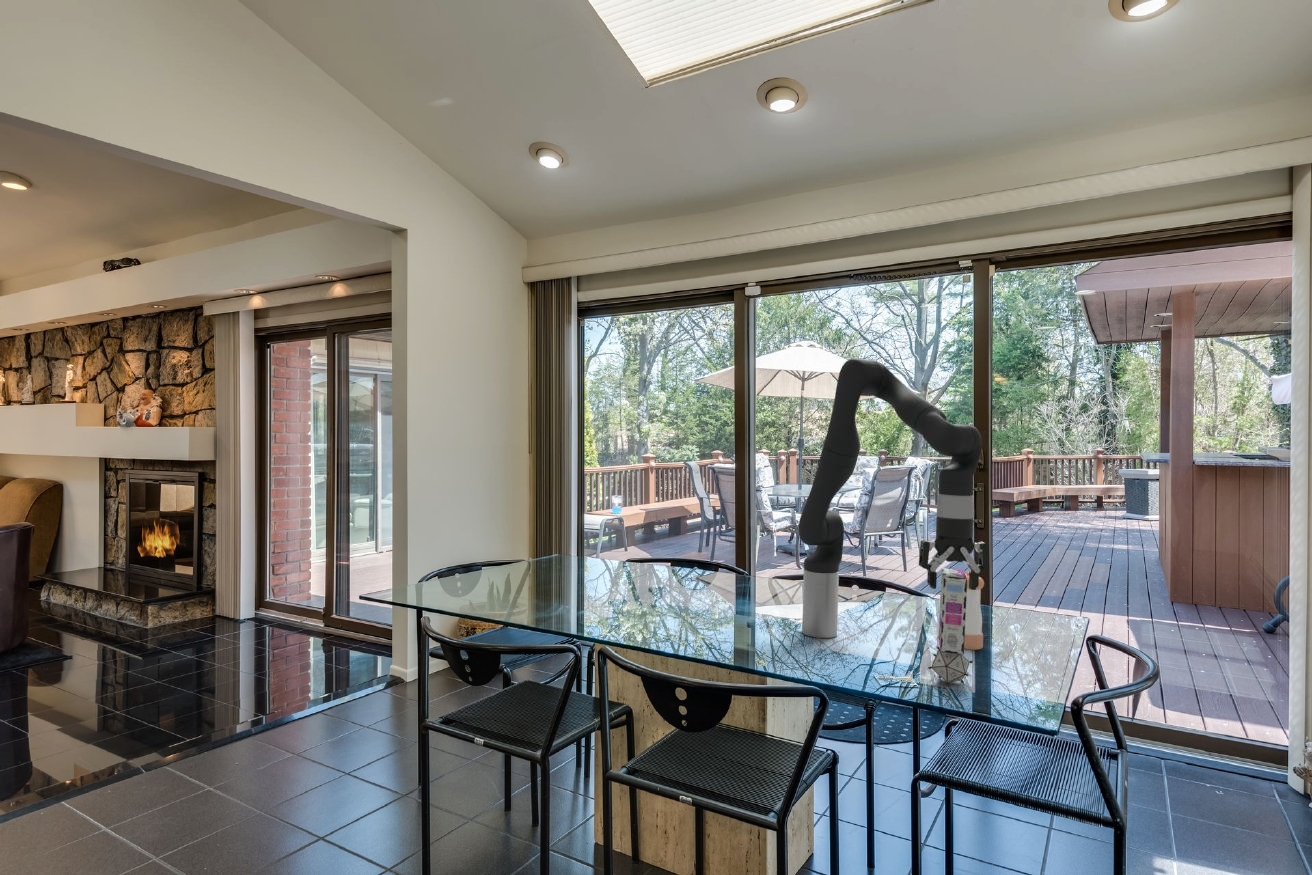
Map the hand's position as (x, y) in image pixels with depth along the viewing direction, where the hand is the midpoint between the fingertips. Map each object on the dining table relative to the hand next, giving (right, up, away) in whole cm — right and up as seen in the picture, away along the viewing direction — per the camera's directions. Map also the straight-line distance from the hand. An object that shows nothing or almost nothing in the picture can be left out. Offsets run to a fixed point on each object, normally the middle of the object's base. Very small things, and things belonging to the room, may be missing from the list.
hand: (952, 588), depth 159 cm
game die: (0, -21, 0) cm, 21 cm away
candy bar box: (0, -13, 0) cm, 13 cm away
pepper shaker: (+16, -21, +29) cm, 39 cm away
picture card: (-13, -21, 0) cm, 24 cm away
